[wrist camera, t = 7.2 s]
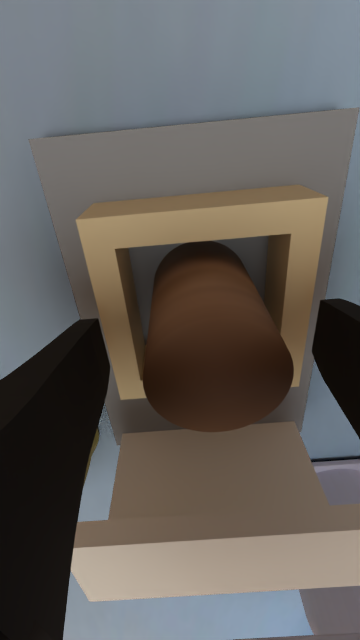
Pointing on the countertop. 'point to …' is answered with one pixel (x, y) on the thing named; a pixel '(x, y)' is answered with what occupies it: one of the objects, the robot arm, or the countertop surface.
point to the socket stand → (131, 339)
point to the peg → (212, 343)
